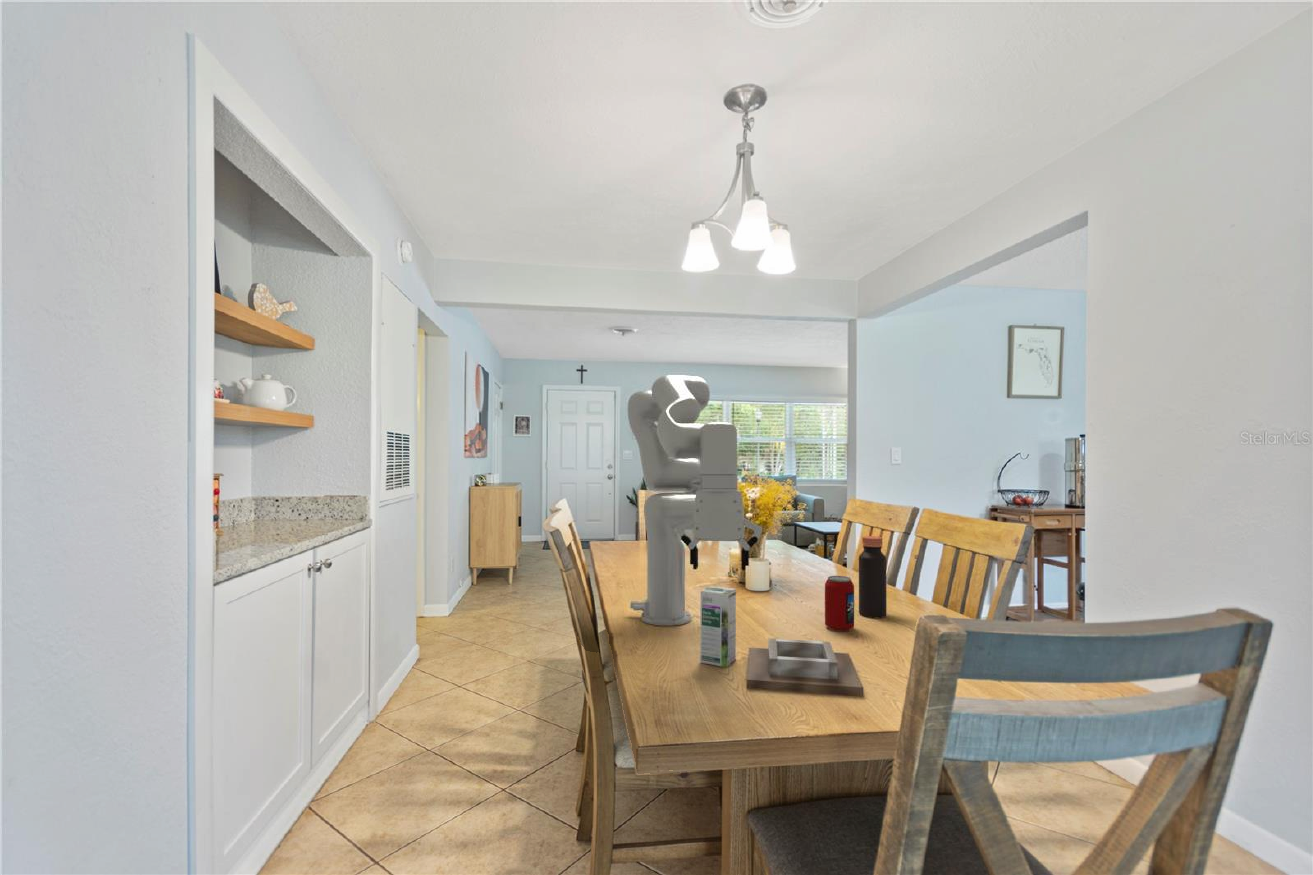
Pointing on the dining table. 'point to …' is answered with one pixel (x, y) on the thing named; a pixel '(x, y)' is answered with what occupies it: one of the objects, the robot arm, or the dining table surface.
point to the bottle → (872, 578)
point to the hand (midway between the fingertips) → (719, 569)
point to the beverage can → (839, 603)
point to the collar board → (802, 668)
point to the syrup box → (718, 626)
